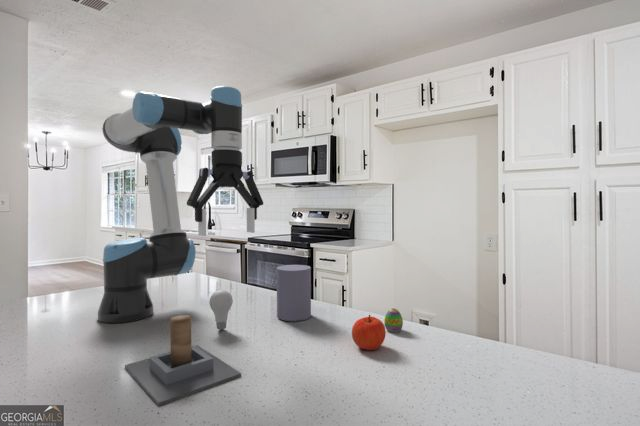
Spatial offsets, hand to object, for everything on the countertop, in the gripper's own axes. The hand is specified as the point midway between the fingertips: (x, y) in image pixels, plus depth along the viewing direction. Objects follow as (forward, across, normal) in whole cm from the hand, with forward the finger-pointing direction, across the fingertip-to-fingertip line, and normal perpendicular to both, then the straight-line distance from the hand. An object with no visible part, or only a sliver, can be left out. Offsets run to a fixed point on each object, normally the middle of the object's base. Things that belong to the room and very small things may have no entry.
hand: (227, 234), depth 95 cm
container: (+27, +23, +2) cm, 36 cm away
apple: (+27, +21, -29) cm, 45 cm away
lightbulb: (+27, +1, +6) cm, 28 cm away
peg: (+26, -17, -11) cm, 33 cm away
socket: (+27, -17, -11) cm, 33 cm away
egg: (+27, +35, -26) cm, 51 cm away
